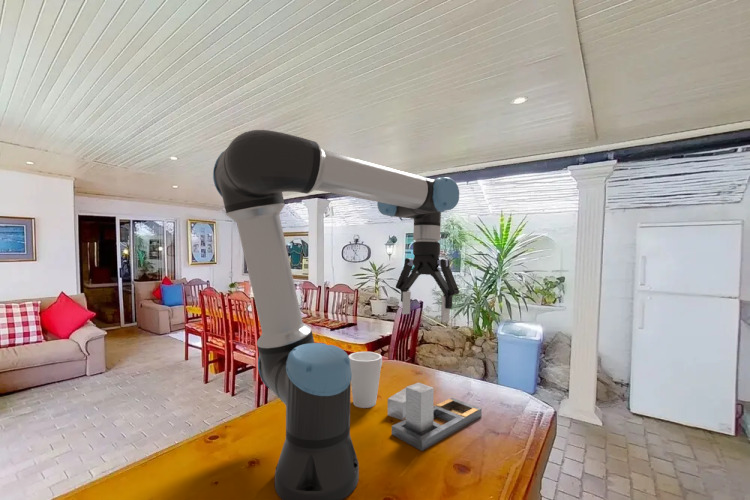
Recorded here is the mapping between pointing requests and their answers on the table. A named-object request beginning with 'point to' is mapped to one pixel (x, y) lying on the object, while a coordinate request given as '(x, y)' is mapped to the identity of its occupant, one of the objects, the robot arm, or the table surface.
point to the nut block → (397, 405)
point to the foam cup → (365, 377)
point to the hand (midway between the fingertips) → (424, 317)
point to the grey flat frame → (447, 410)
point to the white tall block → (419, 408)
